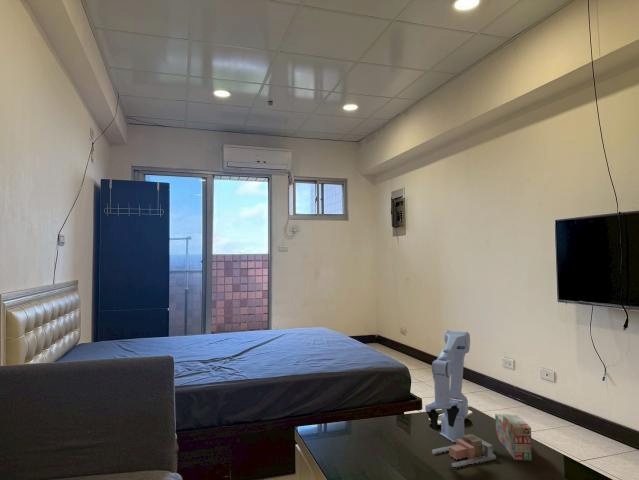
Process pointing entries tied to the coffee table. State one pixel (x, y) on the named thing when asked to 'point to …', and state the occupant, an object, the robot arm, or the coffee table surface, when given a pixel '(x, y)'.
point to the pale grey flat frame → (486, 452)
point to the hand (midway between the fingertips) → (443, 427)
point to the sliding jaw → (462, 450)
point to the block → (474, 444)
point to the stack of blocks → (514, 435)
